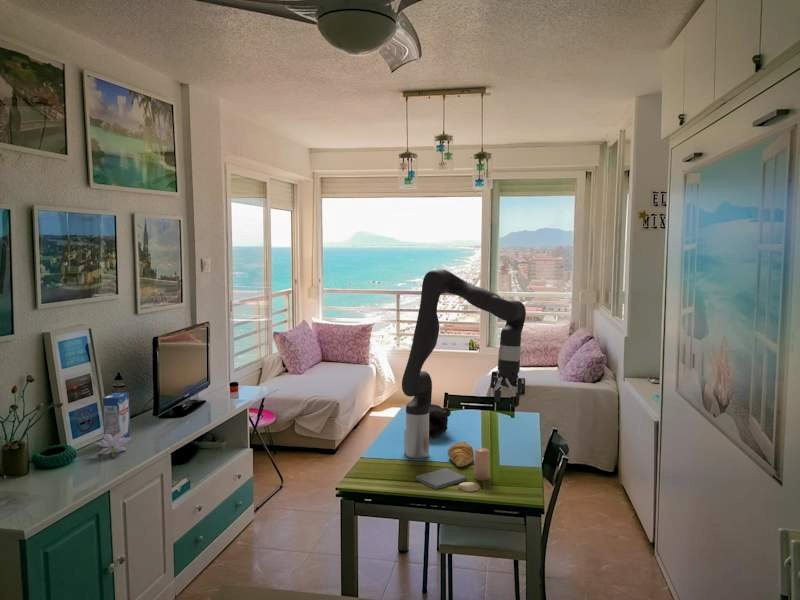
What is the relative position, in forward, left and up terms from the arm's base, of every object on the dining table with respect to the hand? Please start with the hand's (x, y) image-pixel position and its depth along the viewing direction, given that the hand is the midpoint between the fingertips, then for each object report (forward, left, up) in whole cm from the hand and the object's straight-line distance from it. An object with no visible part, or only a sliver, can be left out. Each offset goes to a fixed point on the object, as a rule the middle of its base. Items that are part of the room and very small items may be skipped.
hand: (506, 404), depth 206 cm
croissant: (-25, +2, -28) cm, 37 cm away
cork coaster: (-2, -15, -27) cm, 31 cm away
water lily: (-111, -104, -27) cm, 155 cm away
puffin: (-59, +16, -28) cm, 67 cm away
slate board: (-13, -18, -27) cm, 35 cm away
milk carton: (-127, -100, -27) cm, 164 cm away
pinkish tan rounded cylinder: (-6, -5, -27) cm, 28 cm away
